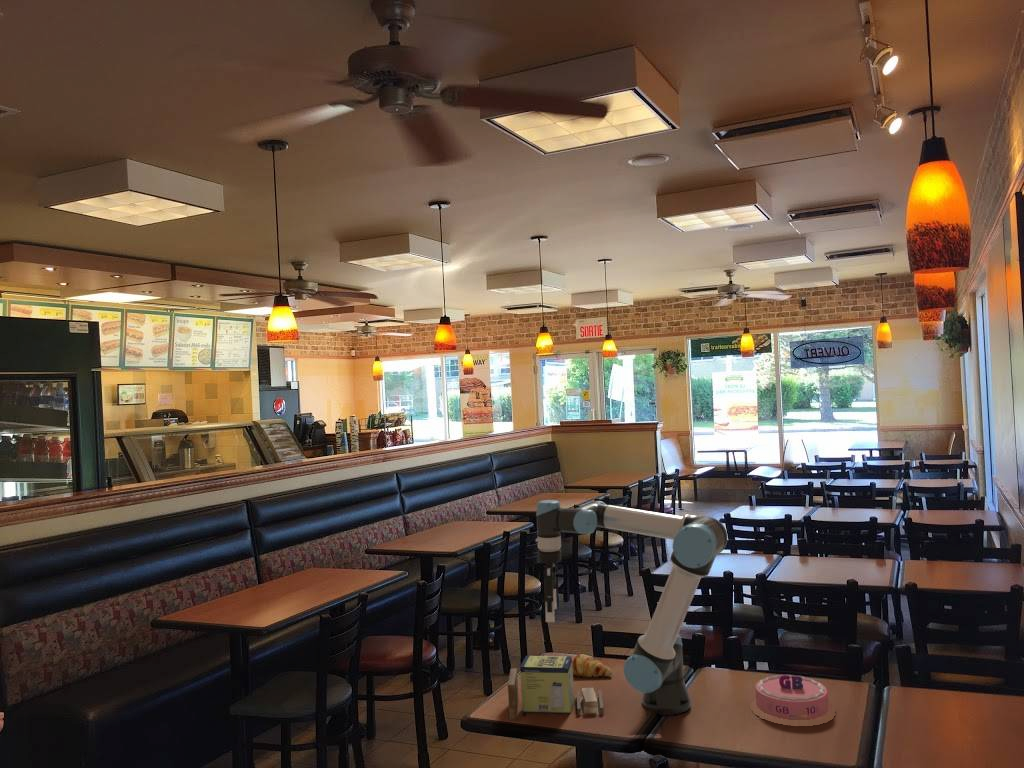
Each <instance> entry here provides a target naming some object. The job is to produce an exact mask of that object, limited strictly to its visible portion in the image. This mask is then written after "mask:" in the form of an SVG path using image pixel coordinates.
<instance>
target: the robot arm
mask: <svg viewBox="0 0 1024 768" xmlns="http://www.w3.org/2000/svg"><path fill="white" fill-rule="evenodd" d="M535 516H536V527H537V528H536V529H537V534H536V535H537V538H536V539H535V543H537V548H538V550H537V561H538V562H539V563H540V564H545V565H544V566H543V581H544V598H543V599H542V602H543V603H544V606H545V608H544V609H545V612H544V613H545V623H555V622H556V621H555V610H557V607H558V606H557V605H558V604H557V603H558V602H557V589H558V588H559V584H557V581H556V576H557V566H556V564H558V563H560V562H561V561H562V549H561V548H562V536H561V532H562V533H573V534H580V535H587V534H588V535H591V534H593V533H594V532H595V530H596V529H597V527H599V528H604V529H608V530H609V529H611V530H616V531H621V532H627V533H633V534H637V535H638V534H639V535H643V536H649V537H655V538H660V539H664V540H665V539H666V540H672V553H671V555H670V558H669V559H670V562H671V564H672V567H671V571H670V572H669V575H668V578H667V580H666V582H665V585H664V587H663V590H662V592H661V595H660V597H659V600H658V603H657V605H656V608H655V611H654V612H653V614H652V618H651V620H650V623H649V625H648V628H647V630H646V632H645V633H644V634H642V635H640V636H638V639H637V642H636V644H635V647H634V649H633V652H632V654H631V655H630V656H628V657H627V659H626V660H625V662H624V664H623V665H624V666H623V674H624V675H623V676H625V679H626V681H627V683H628V685H629V686H630V687H632V688H633V689H634V690H636V691H637V692H639V693H642V697H641V705H642V706H643V707H644V708H645V709H648V710H649V711H652V712H655V713H656V715H659V716H660V715H661V716H675V715H674V714H677V715H679V714H678V713H682V712H685V711H687V710H688V709H689V708H690V707H692V701H691V697H690V696H691V695H690V694H689V691H688V687H687V685H686V683H685V677H684V675H685V674H684V657H683V654H684V653H683V646H684V645H683V641H682V636H681V635H680V630H681V628H682V626H683V625H684V624H683V622H684V621H685V618H686V616H687V613H688V611H689V609H690V606H691V603H692V601H693V599H694V597H695V593H696V592H697V589H698V586H699V583H700V582H701V579H702V578H706V577H708V576H709V574H710V573H711V569H712V566H713V564H714V562H715V559H716V557H717V556H718V555H719V554H721V553H722V552H723V551H724V550H725V548H726V546H727V543H728V533H727V529H726V527H725V525H724V524H723V523H722V522H721V521H719V520H718V519H717V518H714V517H711V516H705V515H699V514H697V515H696V514H689V513H687V514H685V515H684V516H681V515H677V514H676V515H675V514H669V513H662V512H655V511H650V510H649V511H648V510H643V509H636V508H630V507H623V506H617V505H611V504H607V503H605V502H604V501H601V500H595V501H590V502H588V503H587V504H584V505H581V506H578V507H576V508H570V507H569V508H567V507H561V503H560V501H558V500H556V499H543V500H540V501H539V500H538V502H537V504H536V513H535ZM690 709H691V708H690ZM690 709H689V710H690ZM689 710H688V711H689ZM688 711H687V712H688ZM685 713H686V712H685ZM682 714H683V713H682Z"/></svg>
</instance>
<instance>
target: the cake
mask: <svg viewBox="0 0 1024 768" xmlns="http://www.w3.org/2000/svg"><path fill="white" fill-rule="evenodd" d="M754 687H755V688H754V690H755V691H754V692H755V693H754V695H755V697H754V698H756V706H757V707H758V708H759V709H760V710H761V711H763V712H764V713H767V714H769V715H772V716H775V717H778V718H783V719H788V720H810V719H815V718H818V717H821V716H823V715H825V714H826V713H827V712H828V710H829V703H830V701H829V691H828V689H827V688H826V686H825V685H823V684H822V683H821V682H819V681H817V680H814V679H812V678H810V677H807V676H806V677H805V676H802V675H793V674H776V675H771V676H770V675H769V676H767V677H764V678H761V679H760V680H758V681H757V683H756V684H755V686H754Z"/></svg>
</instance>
